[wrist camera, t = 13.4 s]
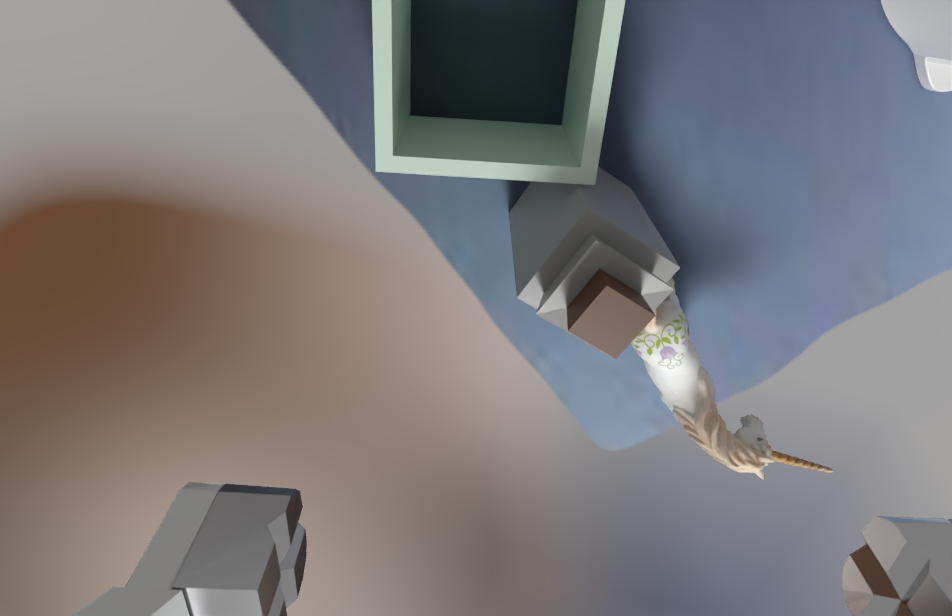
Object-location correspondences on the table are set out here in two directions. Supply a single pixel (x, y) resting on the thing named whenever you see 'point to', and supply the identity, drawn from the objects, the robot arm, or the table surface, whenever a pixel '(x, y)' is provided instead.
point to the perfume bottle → (590, 260)
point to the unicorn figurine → (701, 395)
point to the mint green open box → (495, 142)
